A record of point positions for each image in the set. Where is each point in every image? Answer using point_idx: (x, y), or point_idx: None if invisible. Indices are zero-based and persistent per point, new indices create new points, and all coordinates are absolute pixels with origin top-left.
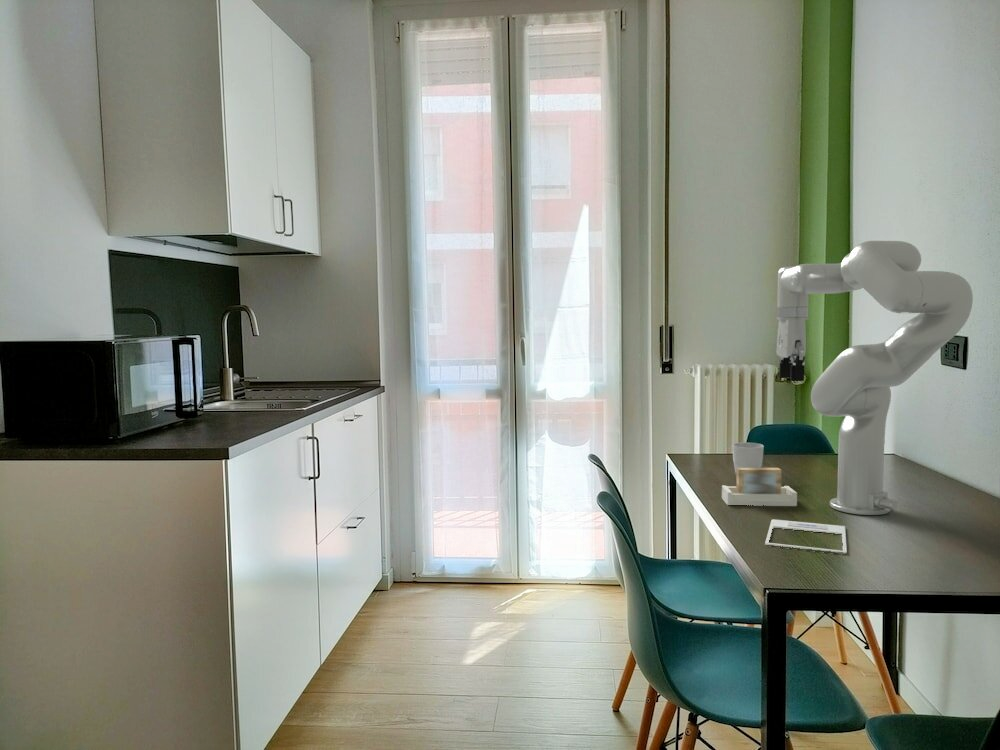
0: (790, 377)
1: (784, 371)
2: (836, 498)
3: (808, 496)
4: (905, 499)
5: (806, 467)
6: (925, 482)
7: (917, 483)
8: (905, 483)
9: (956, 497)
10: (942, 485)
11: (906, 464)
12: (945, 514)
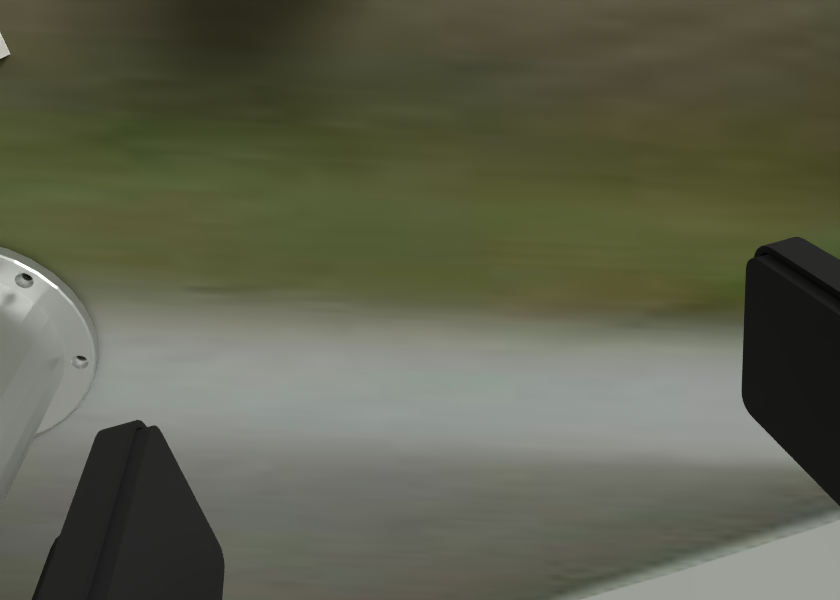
0: (750, 384)
1: (812, 362)
2: (17, 273)
3: (111, 155)
4: (218, 478)
5: (728, 176)
6: (502, 534)
7: (482, 516)
8: (475, 487)
9: (306, 592)
10: (467, 569)
11: (773, 500)
12: (44, 562)
